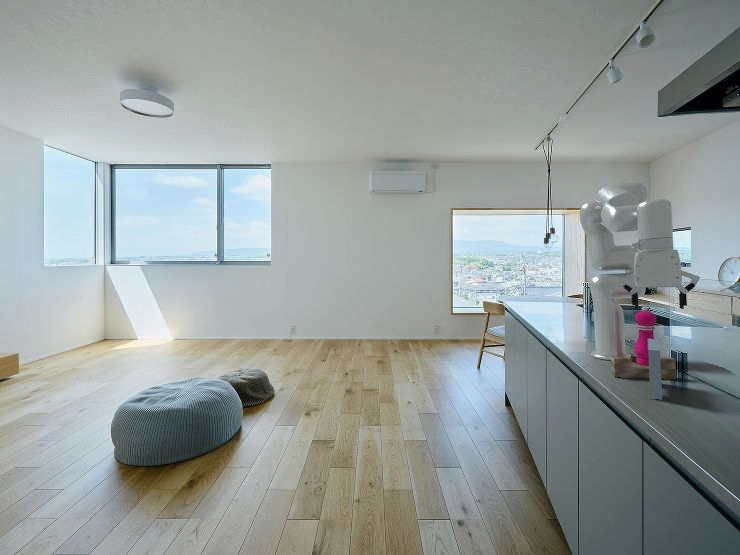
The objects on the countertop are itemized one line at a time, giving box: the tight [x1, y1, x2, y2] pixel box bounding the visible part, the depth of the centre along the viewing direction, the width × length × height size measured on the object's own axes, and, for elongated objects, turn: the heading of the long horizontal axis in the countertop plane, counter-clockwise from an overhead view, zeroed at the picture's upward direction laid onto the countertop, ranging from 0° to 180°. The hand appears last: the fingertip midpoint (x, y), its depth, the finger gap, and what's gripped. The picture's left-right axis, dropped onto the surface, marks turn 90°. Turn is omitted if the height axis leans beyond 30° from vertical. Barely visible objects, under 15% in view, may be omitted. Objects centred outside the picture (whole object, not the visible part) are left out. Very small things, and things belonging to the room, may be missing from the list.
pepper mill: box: [633, 306, 657, 367], centre depth 126 cm, size 7×7×20 cm
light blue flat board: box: [648, 338, 663, 401], centre depth 101 cm, size 16×2×13 cm, turn 143°
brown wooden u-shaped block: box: [610, 356, 677, 380], centre depth 113 cm, size 16×2×6 cm, turn 73°
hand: (658, 308), depth 99 cm, fingers open, 9 cm apart
